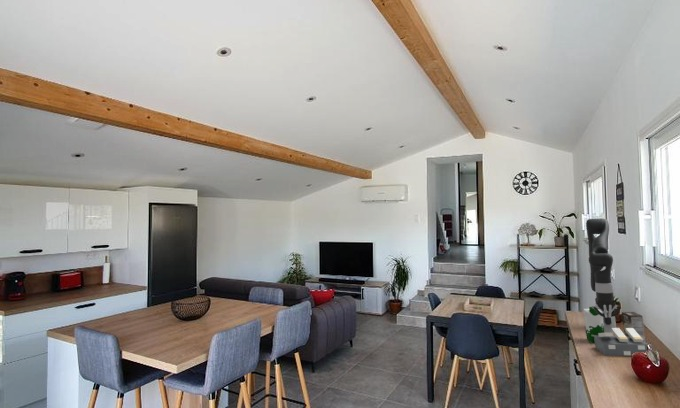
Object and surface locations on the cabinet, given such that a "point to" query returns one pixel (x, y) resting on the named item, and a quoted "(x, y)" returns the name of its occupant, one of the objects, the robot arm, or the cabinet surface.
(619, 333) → the block
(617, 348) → the switch unit
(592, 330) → the milk carton
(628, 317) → the coffee box
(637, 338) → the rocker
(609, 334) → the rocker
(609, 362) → the cabinet surface
